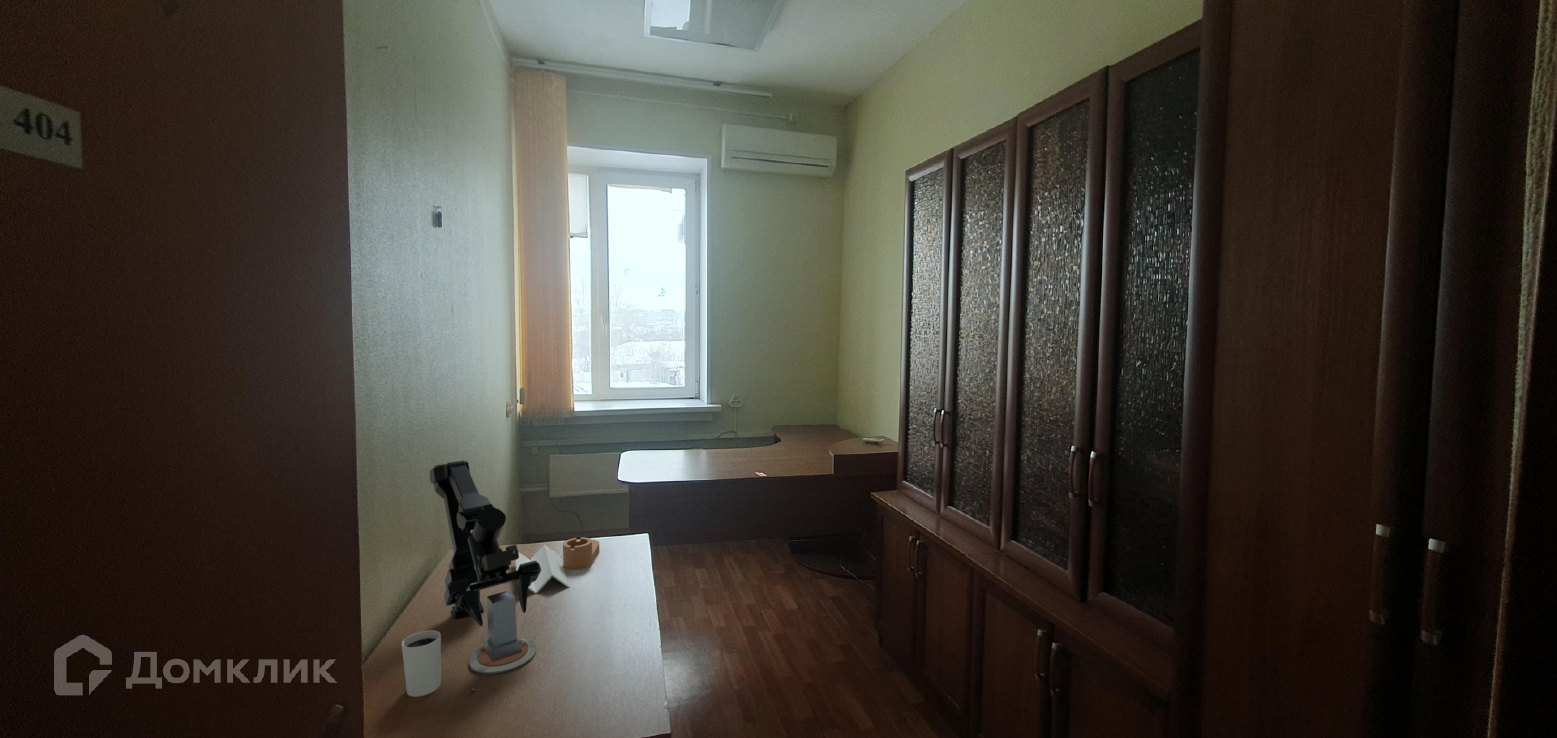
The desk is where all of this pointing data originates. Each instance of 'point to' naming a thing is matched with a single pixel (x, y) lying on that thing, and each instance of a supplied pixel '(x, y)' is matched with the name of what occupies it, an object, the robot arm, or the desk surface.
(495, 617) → the grey stepped block
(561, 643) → the desk surface
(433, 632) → the white cup
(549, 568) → the white zigzag folded sheet
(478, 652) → the copper centred dish
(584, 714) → the desk surface
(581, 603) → the desk surface
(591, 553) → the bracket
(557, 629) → the desk surface
